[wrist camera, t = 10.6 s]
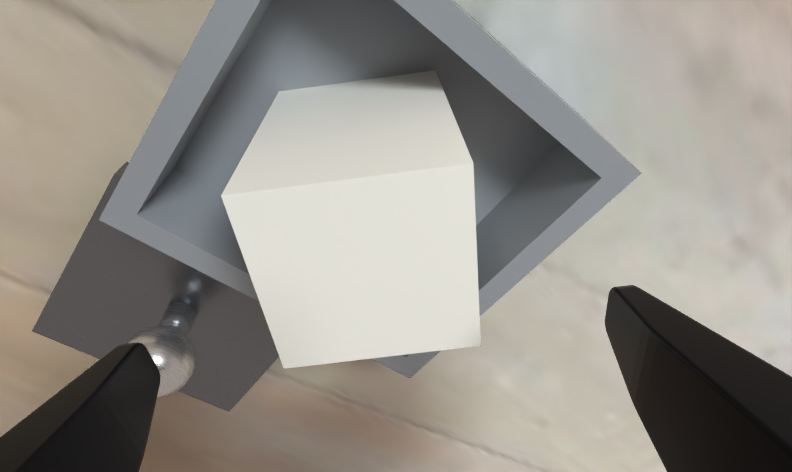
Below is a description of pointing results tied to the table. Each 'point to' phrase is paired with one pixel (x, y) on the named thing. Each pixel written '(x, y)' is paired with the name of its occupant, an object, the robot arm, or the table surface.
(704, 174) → the table surface
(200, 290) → the stud plate
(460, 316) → the cream rectangular block
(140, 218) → the bin
